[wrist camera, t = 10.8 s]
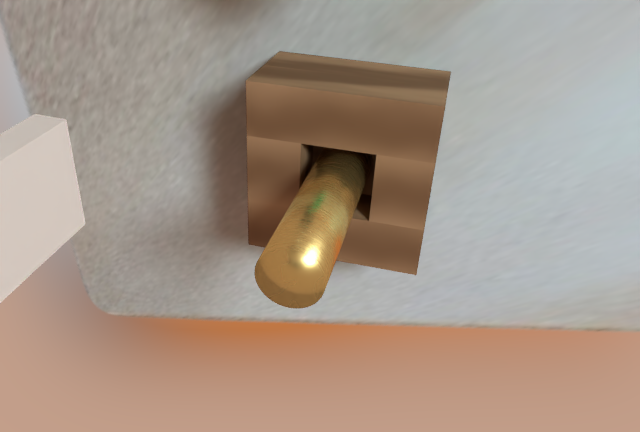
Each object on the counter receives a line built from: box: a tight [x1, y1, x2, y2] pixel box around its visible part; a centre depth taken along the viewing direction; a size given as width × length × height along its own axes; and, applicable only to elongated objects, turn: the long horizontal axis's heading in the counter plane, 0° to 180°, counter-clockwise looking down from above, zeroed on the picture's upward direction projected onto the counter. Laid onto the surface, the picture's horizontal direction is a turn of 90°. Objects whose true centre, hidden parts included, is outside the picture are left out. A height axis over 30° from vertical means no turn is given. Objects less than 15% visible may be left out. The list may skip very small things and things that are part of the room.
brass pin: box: [255, 147, 372, 308], centre depth 34 cm, size 4×4×14 cm
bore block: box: [246, 51, 451, 275], centre depth 40 cm, size 12×12×7 cm
